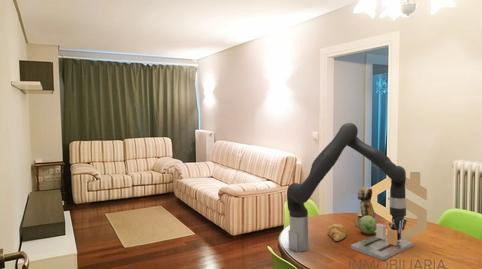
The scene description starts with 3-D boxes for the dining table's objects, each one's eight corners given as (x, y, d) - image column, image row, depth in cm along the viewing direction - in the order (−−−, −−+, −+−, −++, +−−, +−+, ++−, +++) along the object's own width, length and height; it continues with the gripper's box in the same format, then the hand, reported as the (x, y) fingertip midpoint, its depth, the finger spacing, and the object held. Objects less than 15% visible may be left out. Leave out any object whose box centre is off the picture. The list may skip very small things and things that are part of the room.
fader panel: (383, 260, 156) (383, 256, 156) (350, 248, 171) (350, 244, 170) (413, 246, 171) (413, 242, 171) (380, 236, 186) (380, 232, 185)
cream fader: (383, 239, 175) (383, 225, 174) (376, 237, 178) (376, 224, 178) (386, 238, 176) (385, 224, 176) (379, 236, 180) (378, 223, 179)
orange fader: (394, 245, 167) (394, 231, 166) (387, 243, 170) (387, 229, 169) (397, 244, 168) (397, 230, 168) (389, 242, 171) (389, 228, 171)
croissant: (342, 249, 179) (349, 237, 177) (325, 239, 181) (331, 227, 179) (341, 234, 199) (348, 223, 197) (326, 225, 201) (332, 214, 199)
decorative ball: (379, 236, 185) (378, 218, 184) (360, 236, 187) (359, 218, 186) (375, 230, 195) (375, 213, 194) (357, 230, 197) (357, 213, 196)
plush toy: (350, 227, 198) (359, 186, 196) (349, 220, 211) (358, 182, 209) (375, 234, 194) (385, 192, 192) (373, 227, 208) (382, 187, 205)
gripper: (397, 210, 164) (398, 244, 165) (412, 204, 172) (412, 238, 173) (383, 206, 170) (383, 240, 171) (397, 202, 178) (398, 234, 179)
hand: (398, 239), depth 172 cm, fingers closed
